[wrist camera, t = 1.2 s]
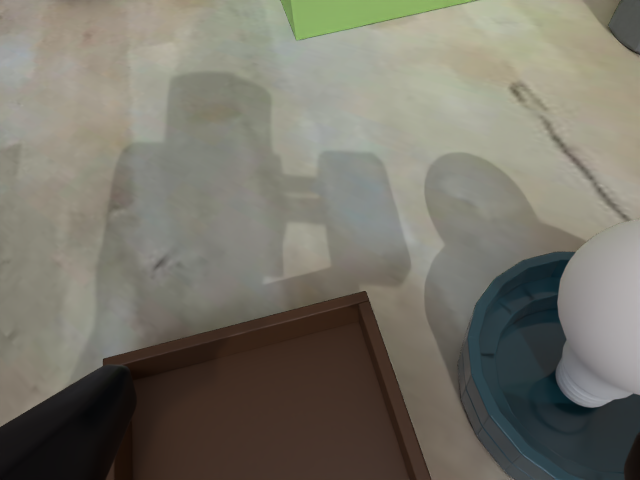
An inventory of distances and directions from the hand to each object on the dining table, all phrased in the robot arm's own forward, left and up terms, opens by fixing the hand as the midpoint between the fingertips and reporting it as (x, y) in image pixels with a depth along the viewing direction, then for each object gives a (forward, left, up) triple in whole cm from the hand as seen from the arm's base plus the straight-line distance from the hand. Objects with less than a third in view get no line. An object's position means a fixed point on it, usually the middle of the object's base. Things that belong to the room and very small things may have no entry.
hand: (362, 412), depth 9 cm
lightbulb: (+3, -11, -15) cm, 19 cm away
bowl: (+3, -11, -15) cm, 19 cm away
